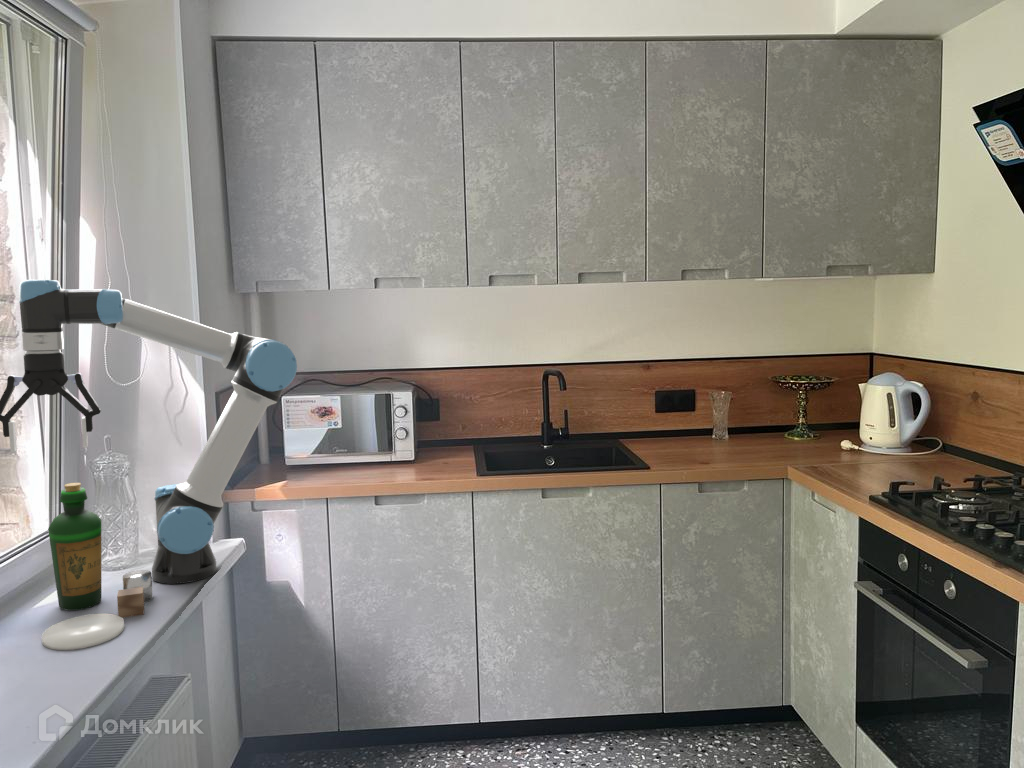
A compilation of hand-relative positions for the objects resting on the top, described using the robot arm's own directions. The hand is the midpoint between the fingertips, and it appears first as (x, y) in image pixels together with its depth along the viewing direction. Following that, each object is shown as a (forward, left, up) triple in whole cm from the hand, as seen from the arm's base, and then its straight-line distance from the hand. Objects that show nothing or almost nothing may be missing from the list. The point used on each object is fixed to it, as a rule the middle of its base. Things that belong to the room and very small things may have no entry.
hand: (50, 449), depth 169 cm
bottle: (-3, -3, -37) cm, 37 cm away
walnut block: (-14, +7, -37) cm, 40 cm away
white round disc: (-6, +15, -37) cm, 40 cm away
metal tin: (-15, -1, -37) cm, 40 cm away
